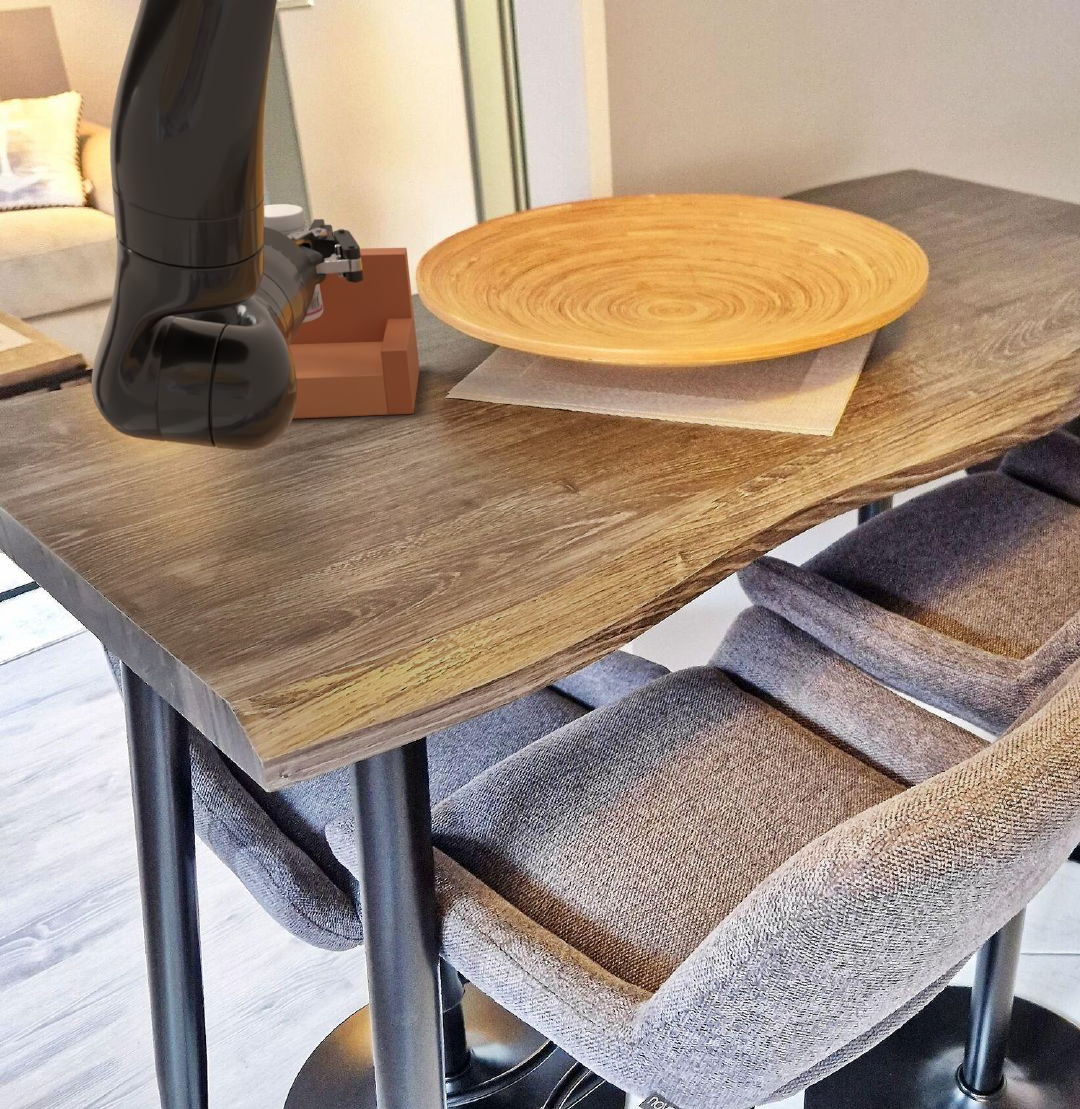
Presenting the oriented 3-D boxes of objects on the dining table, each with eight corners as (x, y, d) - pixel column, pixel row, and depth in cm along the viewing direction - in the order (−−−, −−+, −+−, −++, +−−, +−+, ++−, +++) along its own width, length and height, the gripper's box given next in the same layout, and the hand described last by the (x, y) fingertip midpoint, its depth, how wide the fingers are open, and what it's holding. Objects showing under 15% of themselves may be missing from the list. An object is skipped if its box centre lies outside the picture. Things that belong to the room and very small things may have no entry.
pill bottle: (261, 309, 100) (244, 204, 96) (323, 305, 101) (308, 201, 97) (261, 327, 96) (242, 218, 92) (324, 322, 97) (309, 215, 93)
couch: (181, 423, 98) (152, 289, 92) (206, 377, 106) (181, 252, 101) (413, 413, 101) (398, 282, 95) (419, 369, 109) (406, 247, 104)
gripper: (350, 238, 83) (372, 183, 97) (124, 243, 80) (181, 186, 95) (365, 344, 86) (384, 276, 101) (148, 353, 84) (200, 281, 99)
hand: (285, 232), depth 98 cm, fingers closed on pill bottle, 4 cm apart
